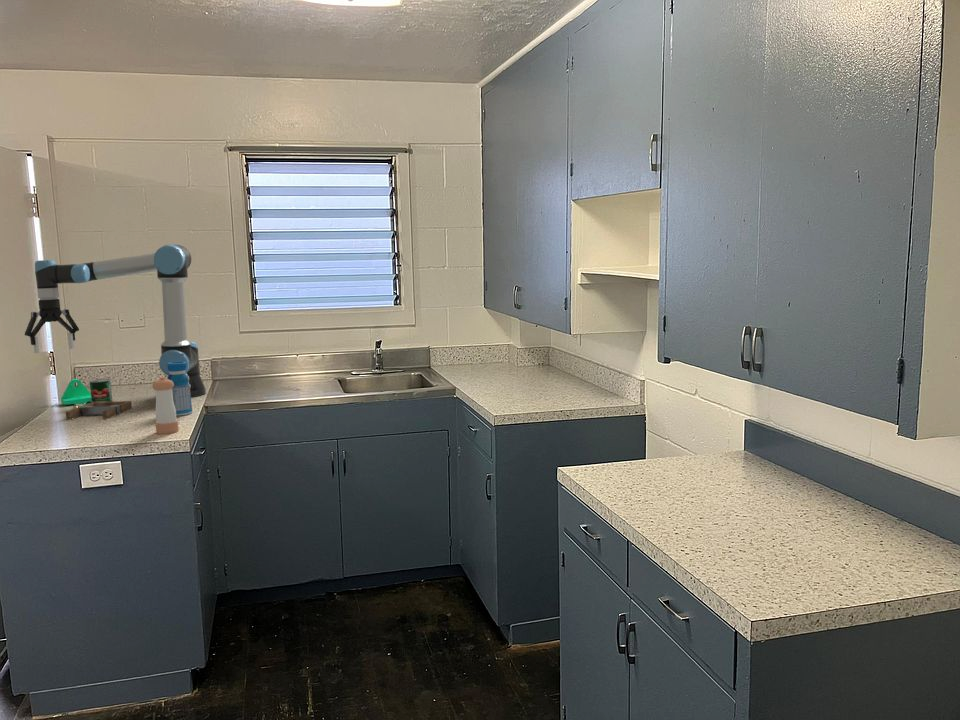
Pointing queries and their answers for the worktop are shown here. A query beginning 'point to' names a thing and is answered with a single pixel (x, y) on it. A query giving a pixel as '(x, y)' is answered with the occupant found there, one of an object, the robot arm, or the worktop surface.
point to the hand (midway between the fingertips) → (54, 351)
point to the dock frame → (106, 414)
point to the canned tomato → (100, 390)
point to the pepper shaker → (165, 407)
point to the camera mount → (76, 393)
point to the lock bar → (96, 409)
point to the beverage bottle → (180, 387)
